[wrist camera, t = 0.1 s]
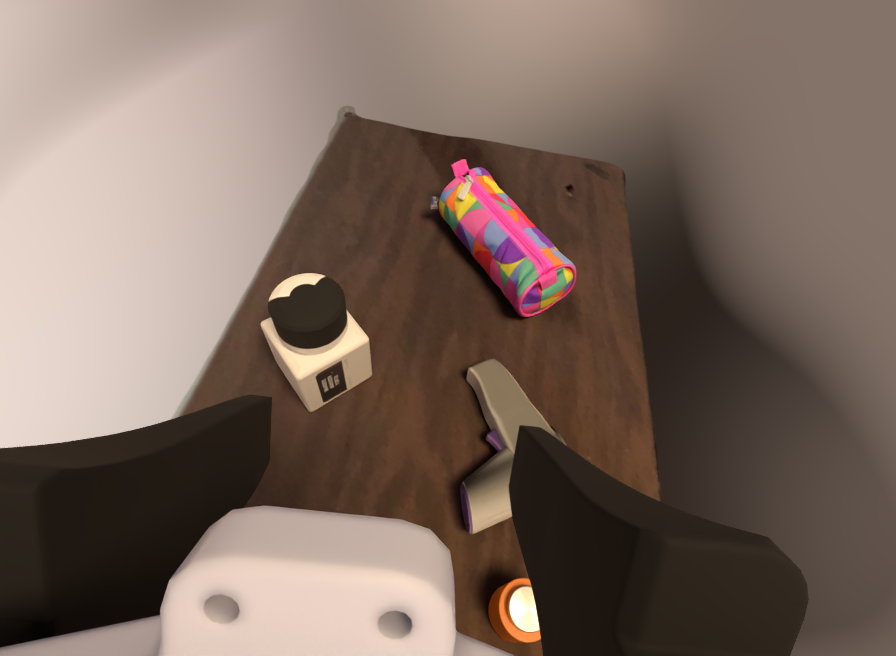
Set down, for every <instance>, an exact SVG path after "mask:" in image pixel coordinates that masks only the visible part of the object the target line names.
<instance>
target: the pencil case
mask: <svg viewBox="0 0 896 656" xmlns="http://www.w3.org/2000/svg"><path fill="white" fill-rule="evenodd" d="M451 167H452V170H453V172H454V174H455V177H456V178H455V179H454V180H453V181H452V182H451V183H449V184H448V185H447V187H446V188H445V189H444V191H443V192H442V194H441V197H436V196H431V210H432V209H438V210H439V212H440V214H441V216H442V217H443V218H444V220H445V221H446V222H447V223H448V224H449V225H450V227H451V229H452V230H453V232H454V233H455V234H456V236H457V237H458V238H459V239H460V241H461V242H462V243H463V244H464V245H465V246H466V248H467V249H468V250H469V252H470V253H471V255H472V256H473V257H474V258H475V259H476V260H477V262H478V263H479V264H480V265H481V266H482V267H483V268H484V269H485V271H486V272H487V274H488V275H489V276H490V278H491V279H492V280H493V282H494V283H495V284H496V285H497V286H498V287H499V288H500V289H501V290H502V292H503V294H504V295H505V297H506V298H507V299H508V300H509V301H510V302H511V304H512V306H513V308H514V309H515V311H516V312H517V313H518V314H519V315H520V316H522V317H530V316H534V315H536V314H538V313H541V312H542V311H544V310H546V309H548V308H549V307H551V306H552V305H553V304H555V303H556V302H557V301H559V300H560V299H562V298H563V297H565V296H566V295H567V294H568V293H569V292H570V291H571V289H572V288H573V286H574V284H575V281H576V268H575V266H574V264H573V263H572V262H571V261H570V260H568V259H567V258H566V257H565V256H564V255H563V254H561V253H560V252H559V251H558V249H557V248H556V247H555V246H554V245H553V244H552V242H551V241H550V240H549V239H548V238H547V237H545V236H544V235H543V234H542V233H541V232H540V231H539V230H538V229H537V228H536V226H535V225H534V224H533V223H532V222H531V221H530V220H529V219H528V218H527V217H526V216H525V214H524V213H523V212H522V211H521V210H520V209H519V207H518V206H517V205H516V204H515V203H514V202H513V201H512V200H511V199H510V198H509V197H508V196H507V195H506V194H505V193H504V192H503V191H502V190H501V189H499V187H498V186H497V184H496V183H495V182H494V180H493V178H492V177H491V175H490V174H489V172H488V171H487V170H485V169H484V168H481V167H478V168H473V169H471V170H469V168H468V166H467V164H466V160H465V159H463V160H461V161H458V162H456V163H454V164H452V165H451Z"/></svg>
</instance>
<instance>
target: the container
mask: <svg viewBox="0 0 896 656" xmlns="http://www.w3.org/2000/svg"><path fill="white" fill-rule="evenodd" d="M268 309H269V313H270V316H271V317H270V318H268V319H266V320H264V321H262V322H261V328H262V330H263V332H264V335H265V337H266V339H267V342H268V344H269V346H270V349H271V351H272V353H273V356H274V358H275V360H276V363H277V364H278V366H279V367H280V369H281V370H282V372H283V373H284V375H285V376H286V378H287V379H288V381H289V382H290V384H291V385H292V387H293V389H294V390H295V392H296V393H297V395H298V396H299V398H300V399H301V401H302V402H303V404H304V405H305V407H306V408H307V410H308V411H309V412H313V411H315V410H317V409H318V408H320V407H322V406H323V405H325V404H327V403H328V402H330V401H332V400H333V399H335V398H337V397H338V396H340V395H341V394H343V393H345V392H346V391H348V390H350V389H351V388H353V387H355V386H356V385H358V384H360V383H361V382H363V381H365V380H366V379H368V378H370V377H371V376H372V367H371V355H370V344H369V338H368V336H367V335H366V334H365V333H364V331H363V330H362V329H361V328H360V326H359V325H358V324H357V323H356V321H355V320H354V319H353V318H352V316H351V315H350V314H349V313H348V311H347V310H346V303H345V297H344V293H343V290H342V289H341V287H340V286H339V284H338V283H336V282H335V281H334V280H332V279H331V278H329V277H326V276H323V275H320V274H313V273H305V274H299V275H295V276H292V277H290V278H288V279H286V280H285V281H283V282H282V283H280V284H279V285H278V286H277V287H276V288H275V289H274V291H273V292H272V294H271V296H270V298H269V302H268Z"/></svg>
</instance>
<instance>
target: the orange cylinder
mask: <svg viewBox="0 0 896 656" xmlns="http://www.w3.org/2000/svg"><path fill="white" fill-rule="evenodd" d="M488 613H489V619H490V623H491V625H492V627H493V629H494V630H495V632H496V633H497V634H498V635H499V636H500V637H501V638H503V639H504V640H506V641H509V642H522V643H531V642H535V641H538V640H540V639H541V636H540V630H539V624H538V618H537V612H536V606H535V600H534V596H533V591H532V587H531V583H530V580H529V579H528V578H518V579H515V580H513V581H511V582H509V583H507V584H505V585H503V586H501V587H499V588H498V589H497V590H496V591H495V592H494V593H493V595H492V597H491V599H490V602H489V608H488Z"/></svg>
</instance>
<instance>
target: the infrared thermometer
mask: <svg viewBox="0 0 896 656" xmlns="http://www.w3.org/2000/svg"><path fill="white" fill-rule="evenodd" d="M466 380H467V382H468V383H469V384H470V385H471V386H472V387H473V389H474V391H475V392H476V394H477V397H478V400H479V402H480V405H481V408H482V411H483V414H484V418H485V420H486V422H487V424H488V426H489V427H490V429H491V431H490V432H489V433H488V434H487V436H486V440H487V441H488V442H489V443H490V444H492V445H493V446H494V448H495V449H496V450H497V451H498V453H497V454H495V455H494V456H493V457H492V458H490V459H489V460H488V461H487V462H486V463H484V464H483V465H482V466H481V467H480V468H478V469H477V470H476V471H475V472H473V473H472V474H471V475H470V476H469V477H467V478H466V479H465V480H464V481H463V482H462V484H461V486H460V497H461V505H462V511H463V517H464V521H465V525H466V529H467V531H468V533H471V534H475V533H477V532H479V531H481V530H483V529H486V528H488V527H490V526H492V525H495V524H497V523H499V522H501V521H503V520H506V519H508V518H510V517H512V512H511V505H510V496H509V487H508V486H509V481H510V475H511V470H512V464H513V459H514V453H515V447H516V442H517V436H518V431H519V425H525V426H533V427H541V428H542V429H544V430H546V431H547V432H549V433H550V434H552V435H553V436H554V437H556V438H557V439H558V440H560V441H561V442H562V443H564V444H565V445H566V443H565V442H564V440H563V439H562V437H561V436H560V434H559V433H558V432H557V431H556V430H555V429H554V428H553V427H552V426H549V425H548V423H547V422H546V421H545V419H544V418H543V416H542V415H541V413H539V412H538V410H537V409H536V408H535V407H534V406H533V405H532V404H531V402H530V401H529V400H528V398H527V396H526V395H525V393H524V392H523V390H522V389H521V387H520V386H519V385H518V383H517V382H516V380H515V379H514V378H513V376H512V375H511V374H510V373H509V372H508V370H507V369H506V368H505V367H504V366H503V365H502V364H501V363H499V362H498V361H497V360H495V359H494V358H491V359H488V360H486V361H483V362H481V363H478V364H476V365H474V366H472V367H470V368H469V369H468V373H467V378H466ZM566 446H567V445H566Z"/></svg>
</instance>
